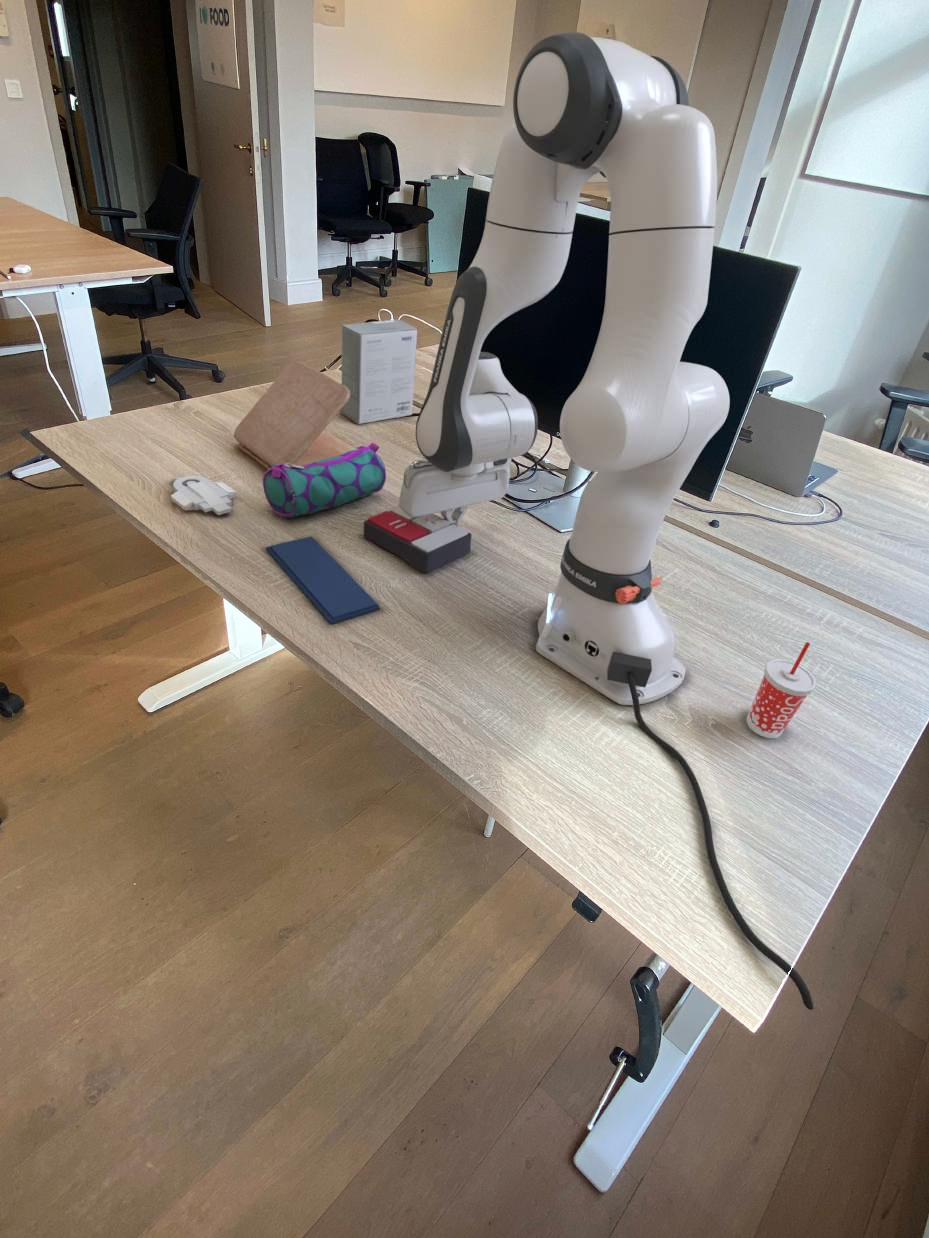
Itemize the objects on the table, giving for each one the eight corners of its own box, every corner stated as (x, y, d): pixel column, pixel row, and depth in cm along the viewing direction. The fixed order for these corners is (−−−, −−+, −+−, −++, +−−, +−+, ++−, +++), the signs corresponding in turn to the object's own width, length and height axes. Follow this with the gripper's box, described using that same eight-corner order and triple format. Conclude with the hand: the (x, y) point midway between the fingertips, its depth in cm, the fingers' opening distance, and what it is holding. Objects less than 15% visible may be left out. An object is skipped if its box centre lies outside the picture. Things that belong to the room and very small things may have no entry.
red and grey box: (409, 499, 123) (473, 529, 115) (408, 521, 125) (471, 552, 118) (362, 516, 116) (427, 550, 108) (362, 539, 118) (426, 574, 111)
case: (230, 446, 140) (223, 365, 130) (319, 429, 152) (320, 354, 142) (283, 487, 128) (280, 402, 119) (375, 465, 141) (379, 387, 131)
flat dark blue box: (379, 609, 102) (380, 604, 101) (330, 624, 98) (330, 619, 97) (311, 539, 115) (311, 534, 115) (265, 549, 111) (265, 545, 110)
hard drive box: (394, 405, 170) (400, 319, 158) (413, 416, 165) (420, 328, 154) (339, 413, 161) (341, 323, 149) (357, 425, 157) (360, 333, 145)
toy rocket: (251, 509, 120) (250, 497, 119) (199, 525, 114) (197, 512, 113) (202, 475, 128) (200, 463, 127) (151, 487, 122) (149, 475, 121)
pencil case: (291, 530, 117) (290, 477, 111) (262, 508, 121) (260, 456, 116) (387, 500, 130) (390, 451, 124) (358, 481, 134) (359, 434, 128)
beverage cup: (743, 736, 90) (787, 653, 81) (737, 705, 94) (777, 623, 86) (791, 747, 89) (840, 664, 81) (782, 714, 94) (827, 633, 86)
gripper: (416, 471, 105) (409, 549, 113) (520, 452, 116) (506, 525, 124) (395, 454, 109) (389, 531, 117) (497, 438, 119) (486, 509, 128)
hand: (450, 527), depth 121 cm, fingers closed
